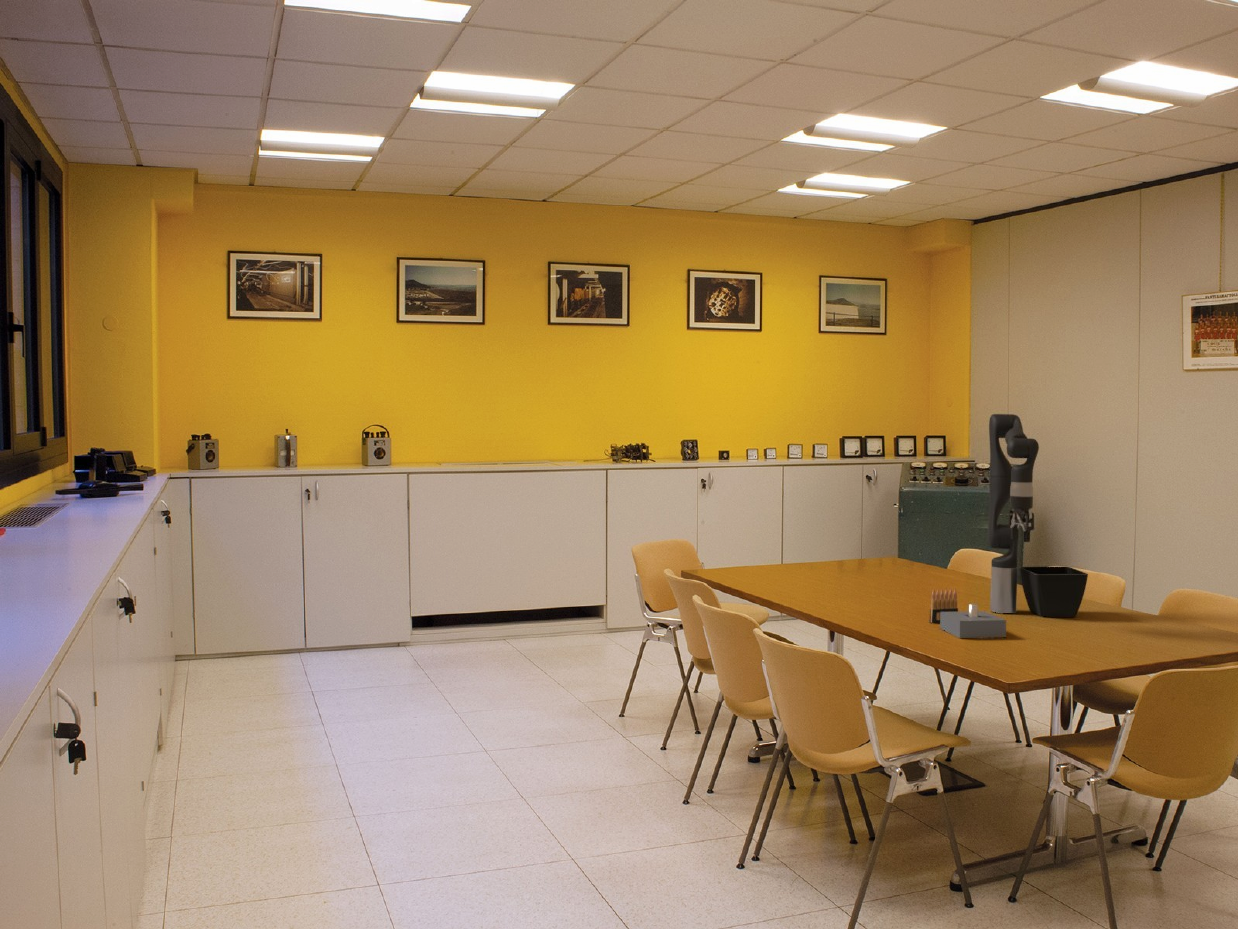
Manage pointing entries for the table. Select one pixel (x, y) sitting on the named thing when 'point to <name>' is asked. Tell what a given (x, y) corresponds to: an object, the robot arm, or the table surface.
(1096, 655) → the table surface
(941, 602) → the ammunition clip
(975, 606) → the metal pin
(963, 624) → the socket block
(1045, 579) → the flower pot
